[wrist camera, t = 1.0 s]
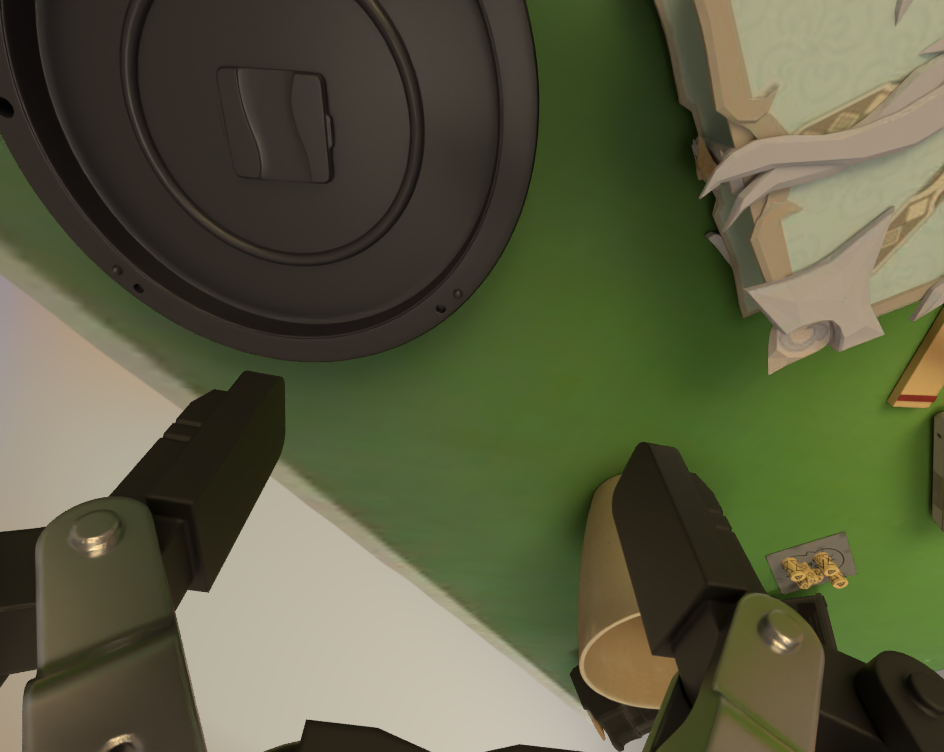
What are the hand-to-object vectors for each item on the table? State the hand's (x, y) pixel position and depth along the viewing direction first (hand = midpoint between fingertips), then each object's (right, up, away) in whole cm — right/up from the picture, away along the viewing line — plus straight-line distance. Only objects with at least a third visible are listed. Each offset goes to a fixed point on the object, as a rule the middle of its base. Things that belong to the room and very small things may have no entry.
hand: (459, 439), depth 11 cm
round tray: (-11, +18, +20) cm, 29 cm away
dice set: (+38, -19, +42) cm, 60 cm away
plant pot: (+16, -11, +38) cm, 42 cm away
